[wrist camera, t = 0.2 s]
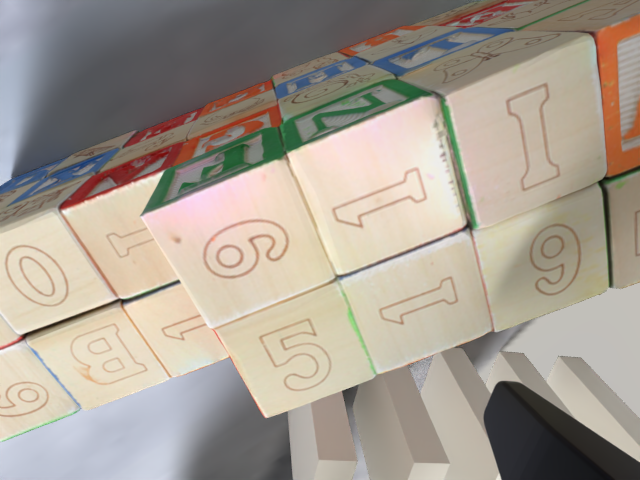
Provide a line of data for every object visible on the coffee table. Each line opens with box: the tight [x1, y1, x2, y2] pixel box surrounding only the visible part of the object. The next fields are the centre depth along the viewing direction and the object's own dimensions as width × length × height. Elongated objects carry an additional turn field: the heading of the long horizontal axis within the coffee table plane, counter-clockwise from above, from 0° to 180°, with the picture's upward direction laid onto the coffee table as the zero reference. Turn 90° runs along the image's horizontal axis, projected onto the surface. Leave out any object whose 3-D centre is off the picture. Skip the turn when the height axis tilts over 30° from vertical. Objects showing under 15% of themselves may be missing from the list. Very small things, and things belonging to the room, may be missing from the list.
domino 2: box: [352, 365, 450, 480], centre depth 24 cm, size 5×2×8 cm, turn 169°
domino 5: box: [546, 356, 640, 462], centre depth 26 cm, size 5×2×8 cm, turn 169°
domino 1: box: [288, 391, 358, 480], centre depth 23 cm, size 5×2×8 cm, turn 169°
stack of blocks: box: [0, 0, 640, 442], centre depth 16 cm, size 21×6×12 cm, turn 109°
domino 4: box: [485, 351, 575, 419], centre depth 25 cm, size 5×2×8 cm, turn 169°
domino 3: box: [420, 348, 501, 480], centre depth 24 cm, size 5×2×8 cm, turn 169°
